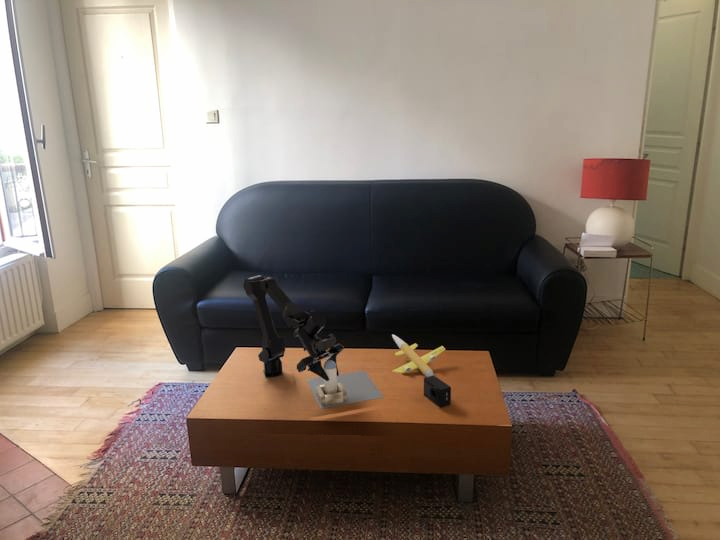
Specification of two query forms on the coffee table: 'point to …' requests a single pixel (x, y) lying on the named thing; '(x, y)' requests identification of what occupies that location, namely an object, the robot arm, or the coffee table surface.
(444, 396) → the digital camera
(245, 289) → the robot arm
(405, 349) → the toy airplane
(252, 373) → the coffee table surface
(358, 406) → the coffee table surface
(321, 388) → the cradle
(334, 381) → the blue-domed white cylinder
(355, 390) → the jig board
